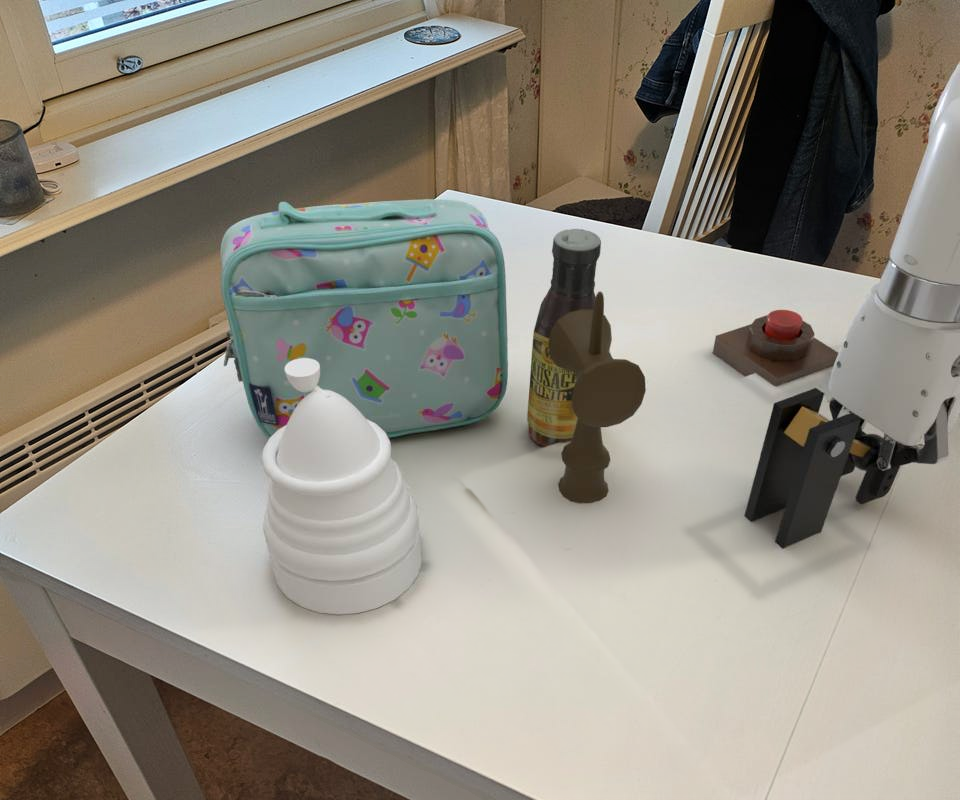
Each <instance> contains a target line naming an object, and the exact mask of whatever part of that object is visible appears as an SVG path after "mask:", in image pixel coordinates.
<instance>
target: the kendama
mask: <svg viewBox="0 0 960 800" xmlns="http://www.w3.org/2000/svg"><path fill="white" fill-rule="evenodd" d="M595 296H596V298H595V302H594V309H593V310H587V309H580V310H577V311H573V312H569V313H567V314H566V315H564V316H563V317H562V318H560V319H559V320H557V322H556V324H555V325H554V327H553V328H552V330H551V333H550V337H549V342H548V346H549V354H550V357H551V359H552V360H553V362H554V363H555V365H556V366H558V367H560V368H562V369H565V370H567V371H573V372H574V374H575V376H576V378H577V380H576V382H575V386H574V390H573V394H572V405H573V412H574V413H575V415H576V416H577V418H578V419H577V423H576V427H575V431H574V434H573V437H572V440H571V441H569V443H567V444H565V445H564V446H563V449H562V451H561V453H560V455H561V461H562V463H563V464H564V466H565V467H564V473H563V476H562V477H561V478H560V479H559V481H558V483H557V487H558V492H559V493H560V494H561V496H562V497H563V498H564V499H566V500H567V501H569V502H571V503H575V504H581V505H583V504H593V503H596V502H600V501H602V500H603V499H605V498H606V497H607V496H608V494H609V492H610V490H609V485H608V483H607V481H606V480H605V470H606V469H608V467H609V466H610V463H611V455H610V451H609V450H608V449H607V447H605V445H604V443H603V436H602V428H609V427H613V426H616V425H621V424H623V422H626V421H627V420H628V419H630V418H632V417H633V416H634V415H635V413H636V412H637V411H638V410H639V409H640V407H641V405H642V403H643V400H644V397H645V394H646V391H647V390H646V389H647V388H646V387H647V386H646V377H645V375H644V373H643V371H642V369H641V367H640V365H639V364H636V363H634V362H633V361H631V360H628V359H623V358H622V359H621V358H613V356H612V354H611V352H610V351H611V345H612V341H613V337H612V325H611V323H610V321H609V320H608V318H607V316H606V315H605V297H604V293H603V292H602V291H597V293H596V294H595Z"/></svg>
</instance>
